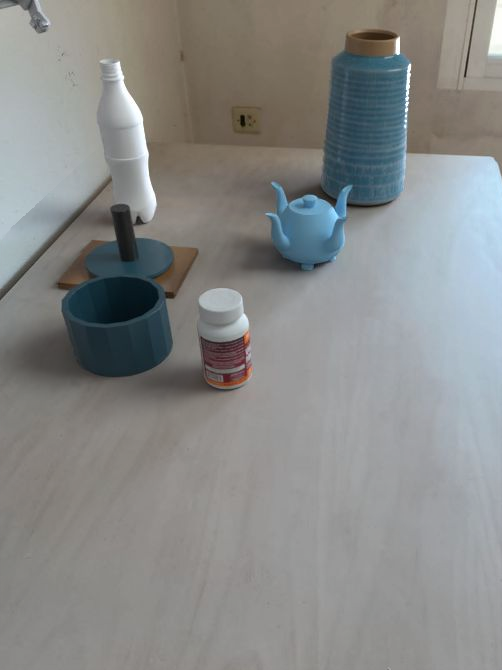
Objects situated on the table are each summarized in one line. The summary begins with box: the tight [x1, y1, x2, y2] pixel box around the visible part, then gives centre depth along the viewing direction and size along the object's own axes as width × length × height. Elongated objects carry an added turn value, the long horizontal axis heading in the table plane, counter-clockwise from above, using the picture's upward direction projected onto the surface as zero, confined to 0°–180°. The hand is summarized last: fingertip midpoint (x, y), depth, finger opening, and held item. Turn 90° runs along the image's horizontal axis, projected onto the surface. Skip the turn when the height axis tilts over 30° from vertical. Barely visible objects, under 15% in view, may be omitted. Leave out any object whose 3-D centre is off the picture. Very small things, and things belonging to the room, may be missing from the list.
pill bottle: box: [196, 287, 253, 390], centre depth 76 cm, size 6×6×11 cm
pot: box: [60, 274, 174, 378], centre depth 82 cm, size 13×13×8 cm
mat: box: [56, 239, 200, 299], centre depth 99 cm, size 18×14×1 cm
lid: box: [85, 204, 174, 279], centre depth 95 cm, size 13×13×9 cm
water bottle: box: [96, 58, 157, 225], centre depth 104 cm, size 7×7×25 cm
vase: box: [320, 28, 412, 207], centre depth 115 cm, size 16×16×27 cm
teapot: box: [264, 181, 353, 271], centre depth 100 cm, size 13×13×10 cm
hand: (20, 36), depth 80 cm, fingers open, 8 cm apart
